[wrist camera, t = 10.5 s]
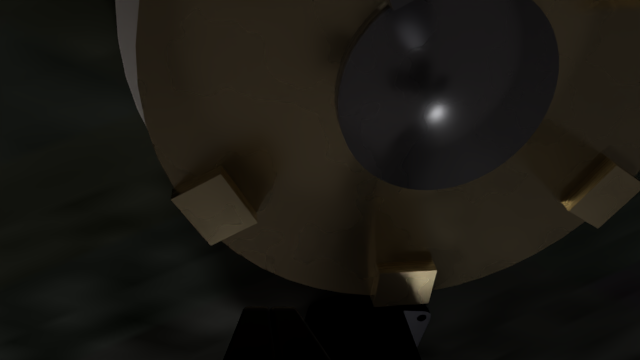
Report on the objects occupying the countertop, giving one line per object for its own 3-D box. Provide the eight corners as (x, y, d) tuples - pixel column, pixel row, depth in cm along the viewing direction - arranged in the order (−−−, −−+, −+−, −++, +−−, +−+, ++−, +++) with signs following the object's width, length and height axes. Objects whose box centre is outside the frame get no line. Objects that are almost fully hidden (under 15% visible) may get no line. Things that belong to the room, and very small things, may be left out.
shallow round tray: (667, 128, 20) (844, 247, 14) (302, 296, 22) (328, 458, 16) (625, -442, 11) (1052, -732, 5) (20, -69, 13) (-137, 9, 7)
